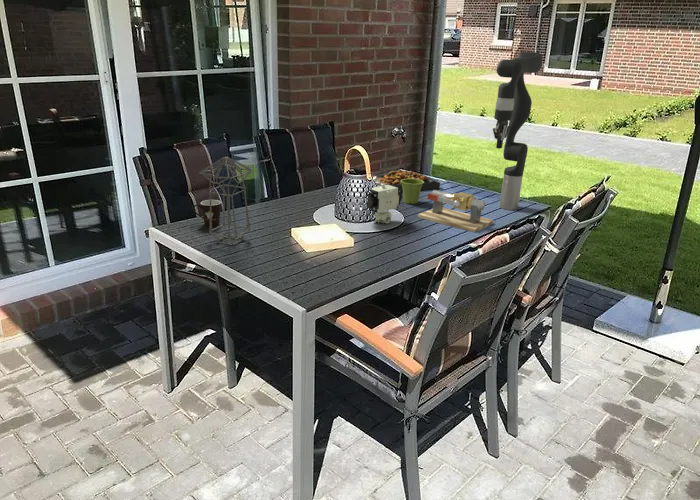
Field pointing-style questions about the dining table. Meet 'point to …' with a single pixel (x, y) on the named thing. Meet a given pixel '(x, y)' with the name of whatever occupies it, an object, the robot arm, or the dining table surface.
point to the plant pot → (411, 190)
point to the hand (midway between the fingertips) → (499, 148)
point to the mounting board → (455, 219)
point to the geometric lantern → (221, 162)
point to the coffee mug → (206, 212)
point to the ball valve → (384, 201)
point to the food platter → (396, 177)
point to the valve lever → (443, 200)
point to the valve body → (461, 204)
